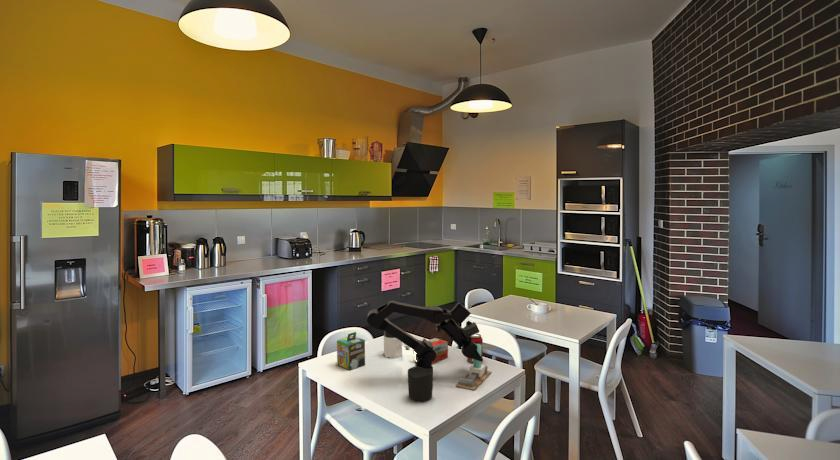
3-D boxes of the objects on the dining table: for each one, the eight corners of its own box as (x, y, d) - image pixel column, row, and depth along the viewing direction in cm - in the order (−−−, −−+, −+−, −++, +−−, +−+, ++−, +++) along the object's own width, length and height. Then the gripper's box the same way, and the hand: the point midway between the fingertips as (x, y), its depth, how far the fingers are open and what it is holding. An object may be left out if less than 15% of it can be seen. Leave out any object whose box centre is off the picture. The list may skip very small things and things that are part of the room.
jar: (391, 359, 204) (391, 333, 204) (379, 355, 210) (379, 330, 209) (405, 354, 211) (405, 329, 210) (394, 350, 216) (394, 326, 216)
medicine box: (435, 353, 213) (435, 337, 212) (448, 358, 207) (448, 341, 207) (413, 362, 201) (413, 344, 201) (426, 366, 196) (426, 348, 195)
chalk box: (353, 360, 204) (352, 328, 203) (365, 365, 198) (365, 332, 197) (336, 365, 197) (335, 332, 196) (349, 370, 191) (348, 336, 190)
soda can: (481, 364, 198) (482, 337, 198) (466, 363, 200) (466, 336, 199) (482, 359, 205) (483, 333, 204) (468, 358, 206) (468, 332, 205)
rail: (474, 390, 171) (474, 382, 171) (455, 386, 175) (455, 378, 174) (491, 372, 188) (491, 365, 188) (473, 369, 192) (473, 362, 192)
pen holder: (425, 390, 172) (425, 364, 171) (437, 399, 163) (437, 372, 163) (403, 395, 167) (403, 368, 167) (415, 405, 159) (415, 377, 158)
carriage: (480, 377, 181) (481, 347, 180) (469, 375, 184) (469, 345, 183) (484, 373, 186) (485, 344, 185) (473, 371, 188) (473, 342, 187)
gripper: (471, 323, 173) (499, 350, 175) (463, 311, 192) (488, 335, 194) (451, 343, 173) (479, 370, 175) (445, 329, 192) (470, 354, 193)
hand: (480, 356), depth 184 cm, fingers open, 9 cm apart
